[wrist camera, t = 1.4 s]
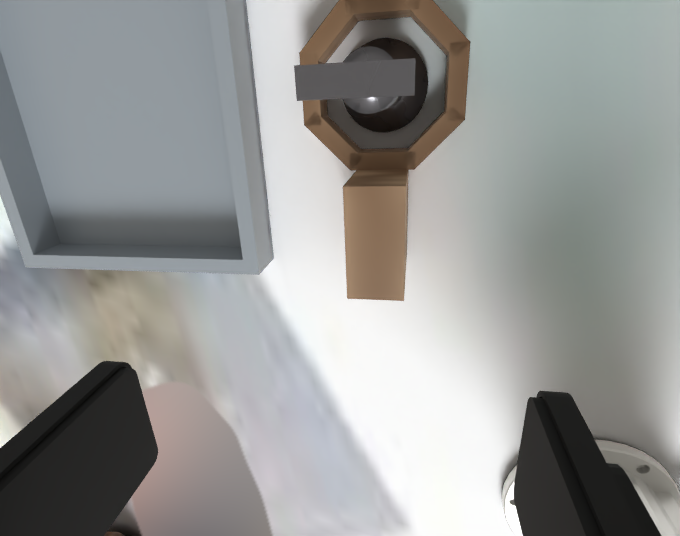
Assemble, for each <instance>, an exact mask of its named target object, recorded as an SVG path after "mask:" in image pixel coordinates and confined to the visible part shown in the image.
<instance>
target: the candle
mask: <svg viewBox="0 0 680 536" xmlns="http://www.w3.org/2000/svg"><path fill="white" fill-rule="evenodd" d="M104 536H125V535H123V534H121V533H120V532H115V531H114V532H110V531H109V532H106V533H105V535H104Z"/></svg>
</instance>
